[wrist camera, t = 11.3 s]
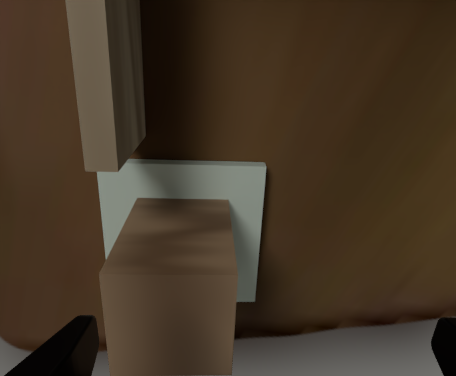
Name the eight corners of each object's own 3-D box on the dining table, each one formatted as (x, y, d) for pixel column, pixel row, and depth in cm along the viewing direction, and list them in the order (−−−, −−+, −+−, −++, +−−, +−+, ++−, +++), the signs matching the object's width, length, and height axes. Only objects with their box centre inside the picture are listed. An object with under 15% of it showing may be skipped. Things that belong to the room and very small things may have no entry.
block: (228, 199, 19) (238, 275, 13) (224, 274, 21) (231, 375, 14) (137, 197, 19) (98, 274, 12) (141, 274, 21) (110, 376, 14)
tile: (264, 162, 19) (266, 166, 19) (253, 293, 23) (254, 301, 22) (100, 158, 19) (95, 162, 18) (113, 293, 22) (110, 302, 21)
